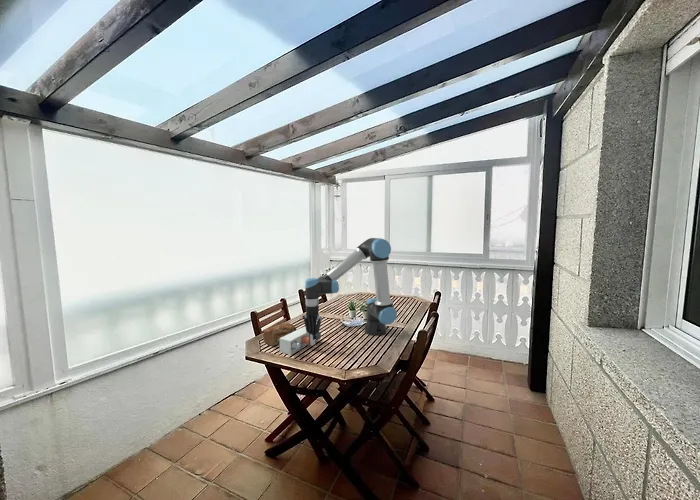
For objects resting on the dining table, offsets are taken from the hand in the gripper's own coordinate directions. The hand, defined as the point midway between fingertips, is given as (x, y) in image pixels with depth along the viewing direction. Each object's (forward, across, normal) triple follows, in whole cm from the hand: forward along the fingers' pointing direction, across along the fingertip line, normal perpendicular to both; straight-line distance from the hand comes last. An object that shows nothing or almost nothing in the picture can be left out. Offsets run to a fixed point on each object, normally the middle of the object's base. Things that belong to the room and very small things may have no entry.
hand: (312, 344), depth 169 cm
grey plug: (+1, +8, -9) cm, 12 cm away
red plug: (+1, +7, 0) cm, 8 cm away
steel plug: (+1, +8, +9) cm, 12 cm away
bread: (+3, +26, -1) cm, 27 cm away
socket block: (+3, +11, 0) cm, 11 cm away
